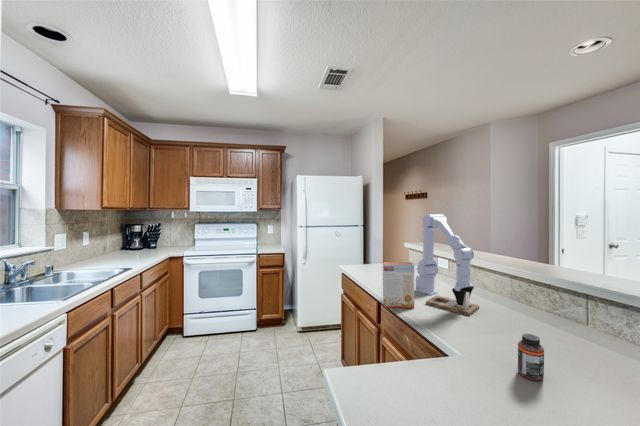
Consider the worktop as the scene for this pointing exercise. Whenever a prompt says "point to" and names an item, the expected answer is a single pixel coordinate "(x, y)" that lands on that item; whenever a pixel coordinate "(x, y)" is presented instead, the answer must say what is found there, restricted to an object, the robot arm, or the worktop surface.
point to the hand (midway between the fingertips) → (463, 302)
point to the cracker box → (398, 284)
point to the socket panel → (451, 305)
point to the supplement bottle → (531, 357)
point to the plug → (465, 302)
